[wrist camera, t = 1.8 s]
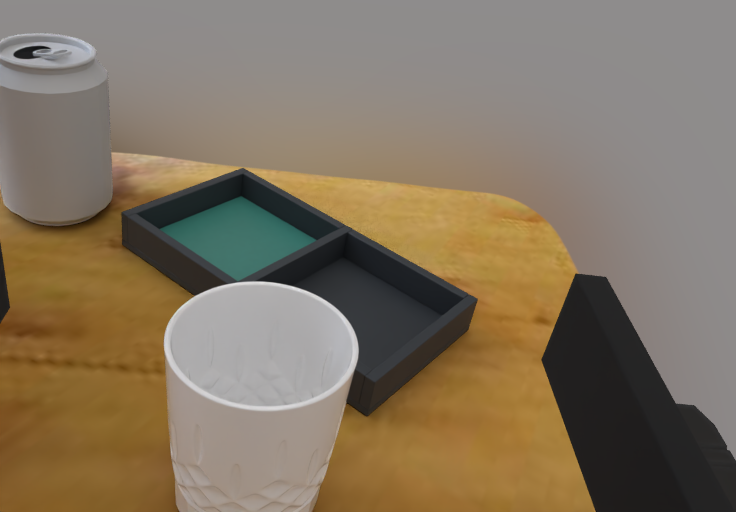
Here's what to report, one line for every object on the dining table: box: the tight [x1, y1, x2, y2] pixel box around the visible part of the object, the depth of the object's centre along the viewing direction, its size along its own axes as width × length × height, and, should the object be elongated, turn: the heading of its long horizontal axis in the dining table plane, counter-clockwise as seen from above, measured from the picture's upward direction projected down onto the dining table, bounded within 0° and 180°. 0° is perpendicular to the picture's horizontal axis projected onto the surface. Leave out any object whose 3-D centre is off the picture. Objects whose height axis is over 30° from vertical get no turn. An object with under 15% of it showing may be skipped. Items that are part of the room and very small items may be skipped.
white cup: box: [164, 281, 359, 512], centre depth 32 cm, size 8×8×10 cm
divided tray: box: [121, 168, 478, 416], centre depth 48 cm, size 22×11×3 cm, turn 52°
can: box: [0, 33, 113, 226], centre depth 49 cm, size 8×8×12 cm
